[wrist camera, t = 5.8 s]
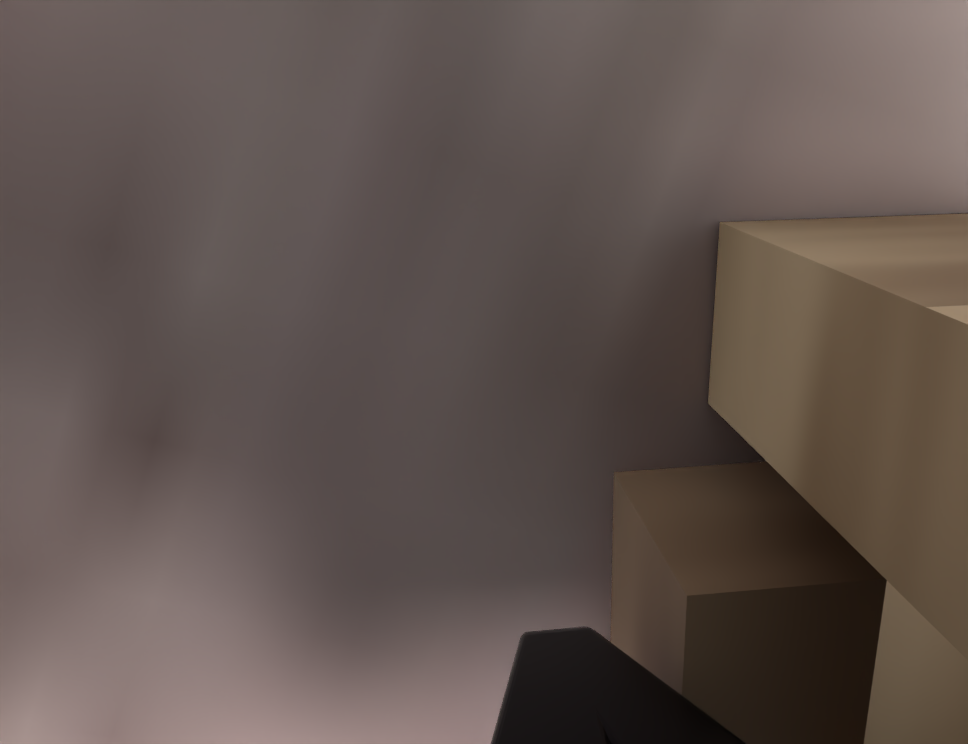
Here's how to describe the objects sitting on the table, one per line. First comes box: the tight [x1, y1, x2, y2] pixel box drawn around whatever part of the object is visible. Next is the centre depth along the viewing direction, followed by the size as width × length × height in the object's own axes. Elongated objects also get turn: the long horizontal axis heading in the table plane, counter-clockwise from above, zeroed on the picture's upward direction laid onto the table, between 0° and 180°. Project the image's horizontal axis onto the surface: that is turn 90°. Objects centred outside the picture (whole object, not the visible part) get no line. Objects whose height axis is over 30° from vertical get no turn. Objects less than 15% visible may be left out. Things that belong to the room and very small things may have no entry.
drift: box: [610, 461, 887, 744], centre depth 9 cm, size 5×3×3 cm, turn 91°
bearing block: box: [708, 213, 968, 744], centre depth 8 cm, size 3×8×4 cm, turn 1°
